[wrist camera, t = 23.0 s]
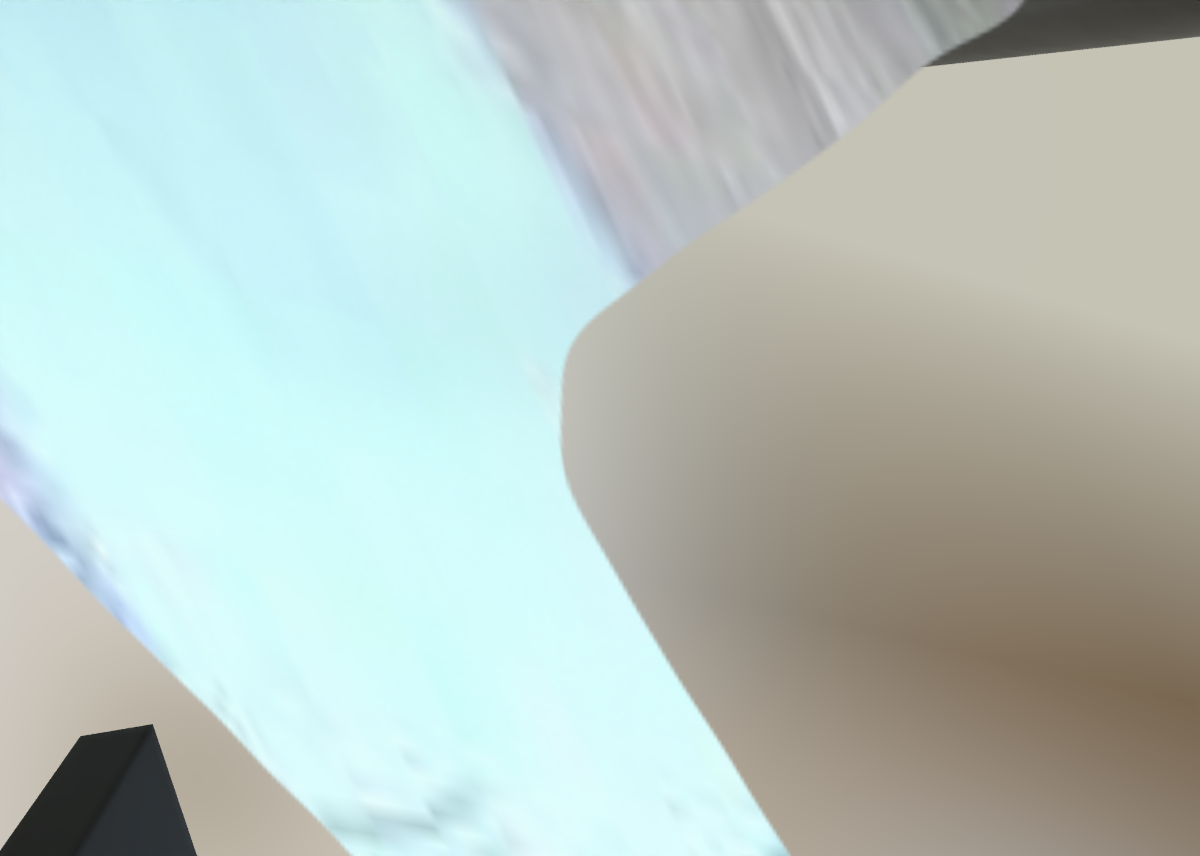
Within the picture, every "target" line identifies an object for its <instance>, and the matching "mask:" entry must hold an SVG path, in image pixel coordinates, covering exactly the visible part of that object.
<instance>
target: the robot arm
mask: <svg viewBox="0 0 1200 856" xmlns="http://www.w3.org/2000/svg"><path fill="white" fill-rule="evenodd" d="M0 856H197V855H196V852H195V849H194V846H193V843H192V840H191V837H190V834H189V831H188V828H187V825H186V822H185V819H184V816H183V813H182V810H181V807H180V805H179V802H178V798H177V795H176V792H175V789H174V786H173V783H172V780H171V778H170V775H169V771H168V768H167V766H166V762H165V760H164V757H163V754H162V751H161V748H160V745H159V742H158V739H157V736H156V733H155V730H154V727H153V724H151V725H145V726H140V727H134V728H127V729H121V730H115V731H110V732H103V733H97V734H91V735H85V736H81V737H80V738H79V739H78V741H77V742H76V744H75V745H74V746H73V748H72V749H71V751H70V752H69V753H68V755H67V756H66V758H65V759H64V761H63V762H62V764H61V765H60V766H59V768H58V769H57V771H56V772H55V773H54V775H53V776H52V778H51V779H50V780H49V782H48V783H47V785H46V786H45V788H44V789H43V790H42V792H41V794H40V795H39V796H38V798H37V799H36V801H35V802H34V803H33V805H32V806H31V808H30V809H29V811H28V812H27V813H26V815H25V816H24V818H23V819H22V820H21V822H20V823H19V825H18V826H17V828H16V829H15V830H14V832H13V833H12V835H11V836H10V837H9V839H8V840H7V842H6V843H5V845H4V846H3V848H2V849H1V850H0Z"/></svg>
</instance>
